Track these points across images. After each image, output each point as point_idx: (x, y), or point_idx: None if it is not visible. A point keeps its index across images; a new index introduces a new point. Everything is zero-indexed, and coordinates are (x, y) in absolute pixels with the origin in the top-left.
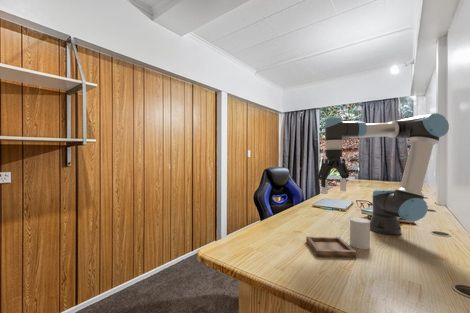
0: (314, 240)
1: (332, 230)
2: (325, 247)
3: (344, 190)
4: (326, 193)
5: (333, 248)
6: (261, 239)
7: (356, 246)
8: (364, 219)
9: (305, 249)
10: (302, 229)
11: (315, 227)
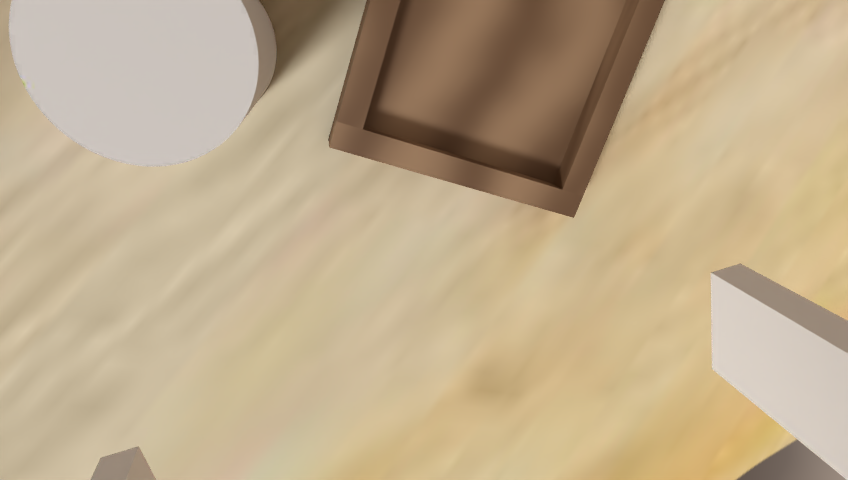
0: (528, 176)
1: (211, 371)
2: (532, 49)
3: (139, 474)
4: (750, 269)
5: (488, 15)
6: None
7: (264, 10)
8: (52, 57)
9: (646, 92)
10: (435, 417)
11: (310, 444)
